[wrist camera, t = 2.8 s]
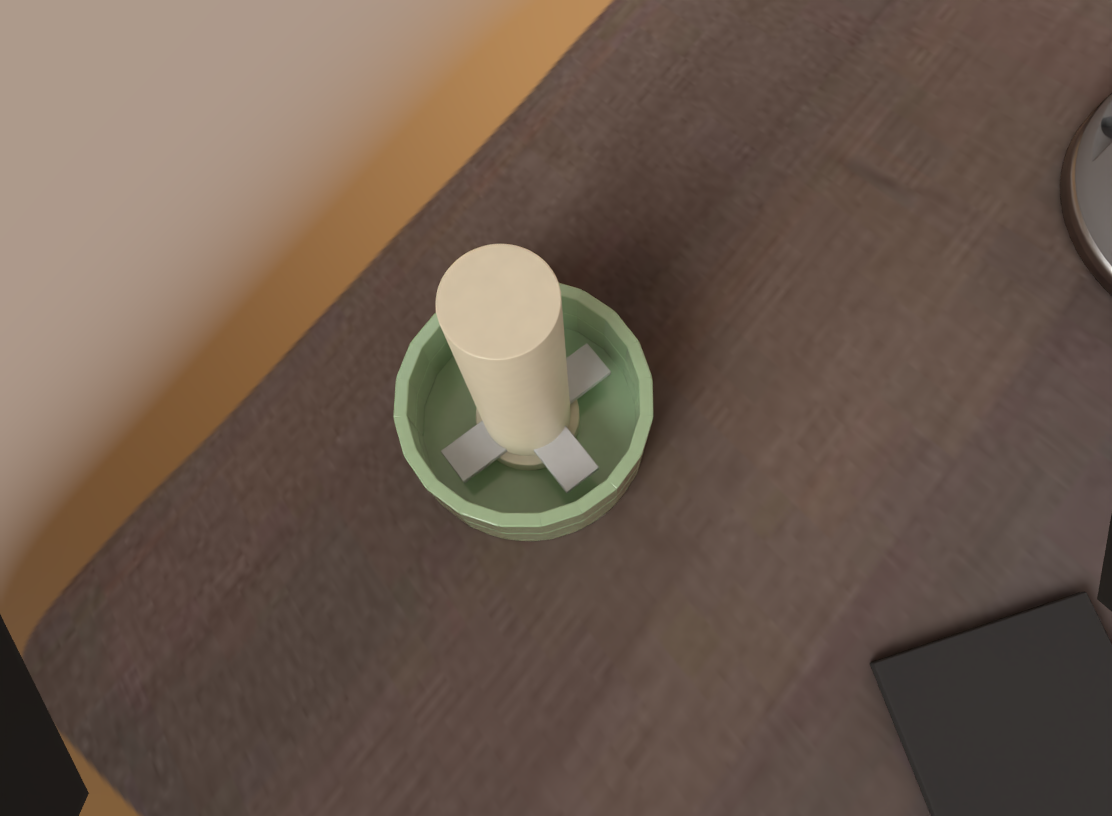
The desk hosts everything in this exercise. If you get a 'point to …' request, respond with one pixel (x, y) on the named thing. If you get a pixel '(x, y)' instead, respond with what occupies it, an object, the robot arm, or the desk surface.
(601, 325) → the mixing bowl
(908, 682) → the mat
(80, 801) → the robot arm
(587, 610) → the desk surface
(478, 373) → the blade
